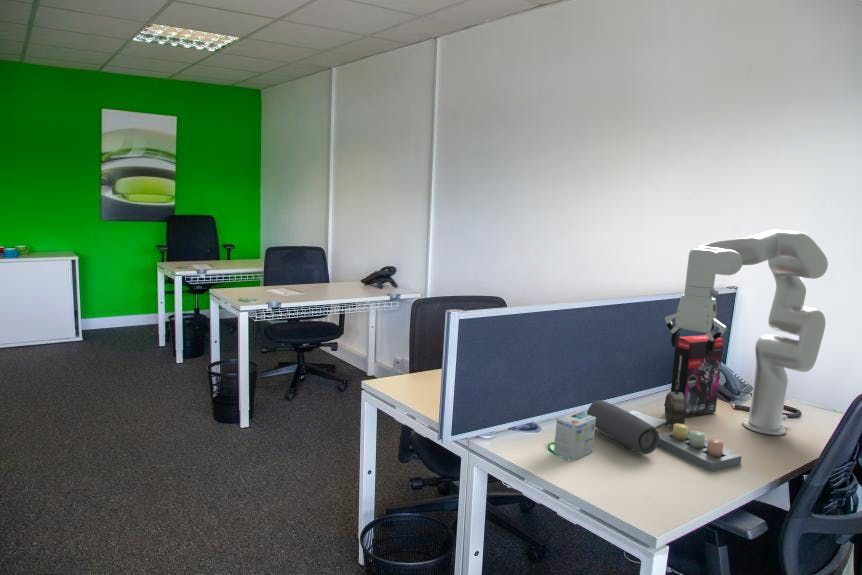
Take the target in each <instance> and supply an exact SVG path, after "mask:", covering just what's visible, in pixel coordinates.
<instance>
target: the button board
mask: <svg viewBox="0 0 862 575" xmlns="http://www.w3.org/2000/svg"><path fill="white" fill-rule="evenodd" d="M672 435H673V431H671V432H664V433H660V434H659V438H660V440H659V444H658V446H657V447H660V448H661V449H663V450H664V451H666V452H669V453H671V454H674V455H676V456H678V457H680V458H681V459H683V458H684V460H685V459H686V461H687V460H688V461H687V462H689V461H690V463H691V462H692V463H691V464H693V463H694V464H693V465H695V464H696V466H697V465H698V467H699V466H700V468H701V467H702V468H701V469H703V468H704V469H703V470H705V469H706V470H705V471H707V470H708V471H707V472H709V471H711V472H715V471H714V470H716V471H719V470H718V469H720V470H723V468H724V469H727V467H728V468H731V467H736V466H740V465H741V464H742V457H743V456H742V455H740V454H738V453H736V452H734V451H732V450H729V449H727V448H726V447H723V452H722V457H720V458H715V457H712V456H710V455H708V454H706V453H707V445H708V439H705V442H704V448H703V449H695V448H693V447H691V446H689V440H690V432H687V440H686V441H678V440H676V439H674V438H672Z"/></svg>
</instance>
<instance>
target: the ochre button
mask: <svg viewBox="0 0 862 575" xmlns="http://www.w3.org/2000/svg"><path fill="white" fill-rule="evenodd" d="M672 427H673V430H672V432H673V435H672V438H674V439H676V440H678V441H686V440H687V432H688V431H689V426H688V425H686V424H685V423H684V424H679V423H676V424H674V426H672Z"/></svg>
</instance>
